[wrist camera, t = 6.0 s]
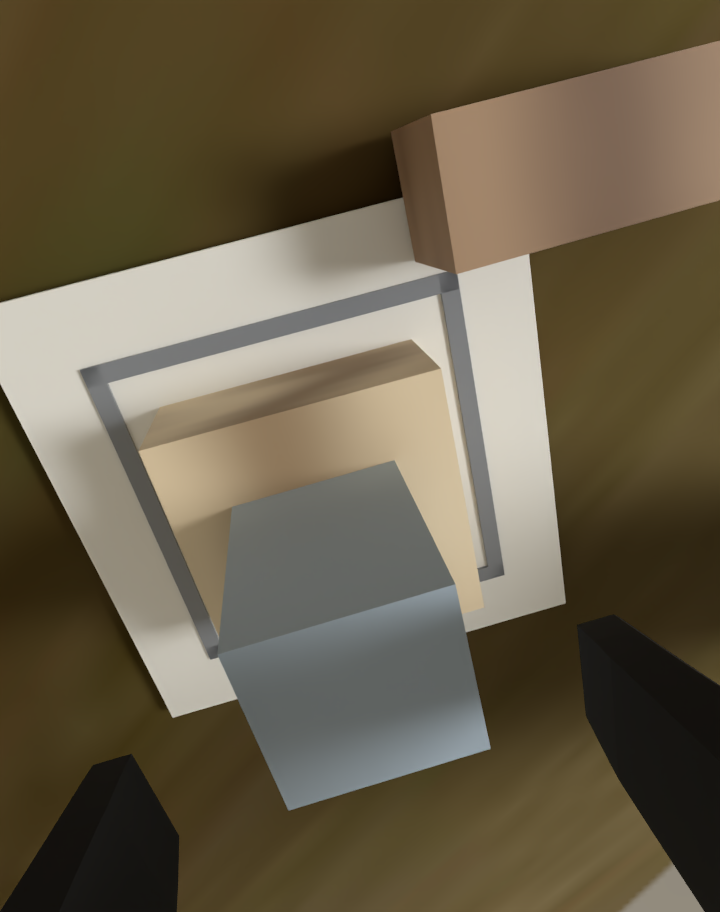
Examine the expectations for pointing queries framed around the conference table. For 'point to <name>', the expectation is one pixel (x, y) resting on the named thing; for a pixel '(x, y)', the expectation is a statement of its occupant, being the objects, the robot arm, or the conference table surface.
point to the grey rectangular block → (346, 637)
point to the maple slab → (310, 453)
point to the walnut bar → (562, 160)
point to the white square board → (263, 356)
